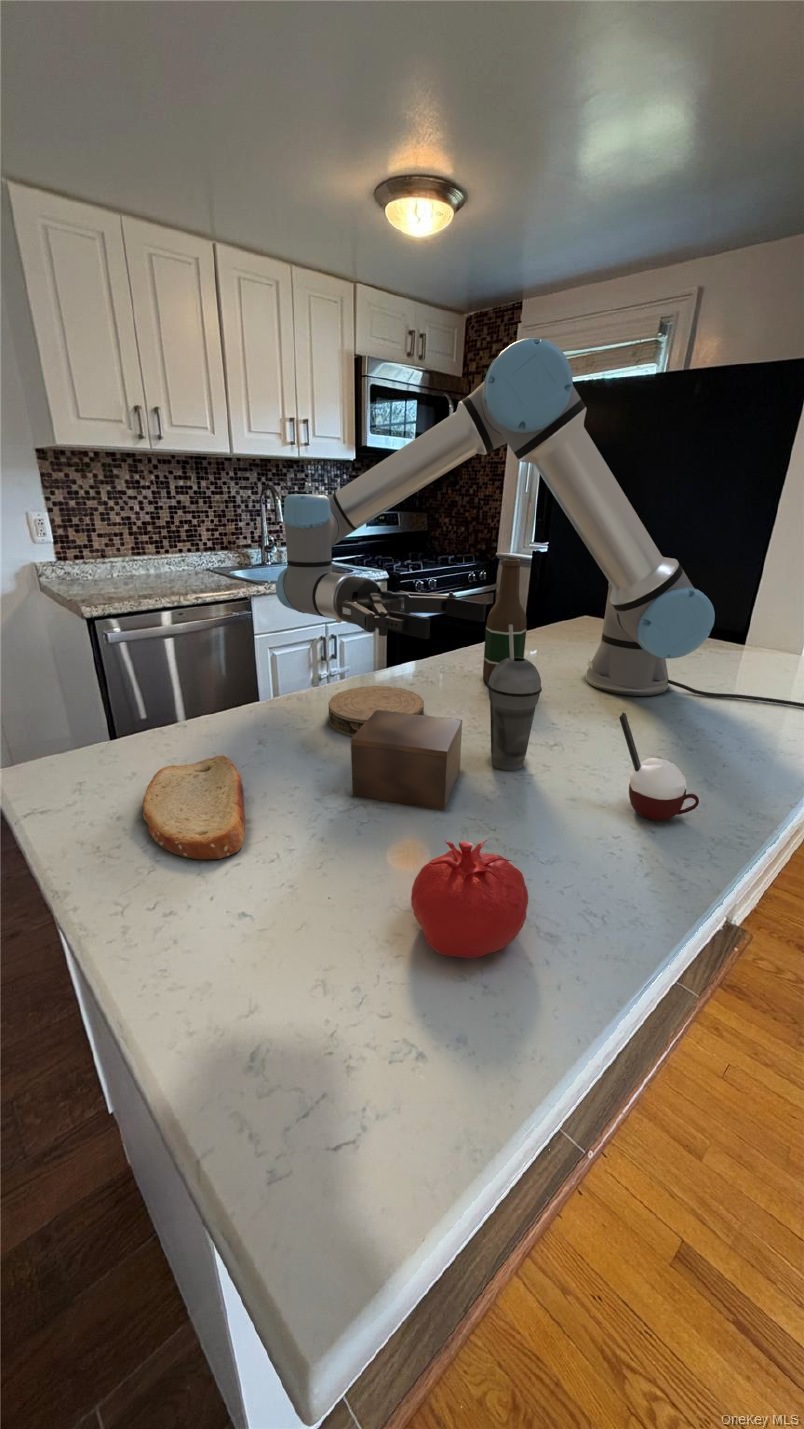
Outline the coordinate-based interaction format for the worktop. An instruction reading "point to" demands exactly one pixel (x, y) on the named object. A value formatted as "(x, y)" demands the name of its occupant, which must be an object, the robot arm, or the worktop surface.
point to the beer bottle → (505, 620)
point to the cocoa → (655, 784)
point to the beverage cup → (512, 708)
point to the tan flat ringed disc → (370, 705)
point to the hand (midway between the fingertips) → (458, 620)
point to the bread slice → (197, 809)
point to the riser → (406, 758)
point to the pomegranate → (469, 901)
